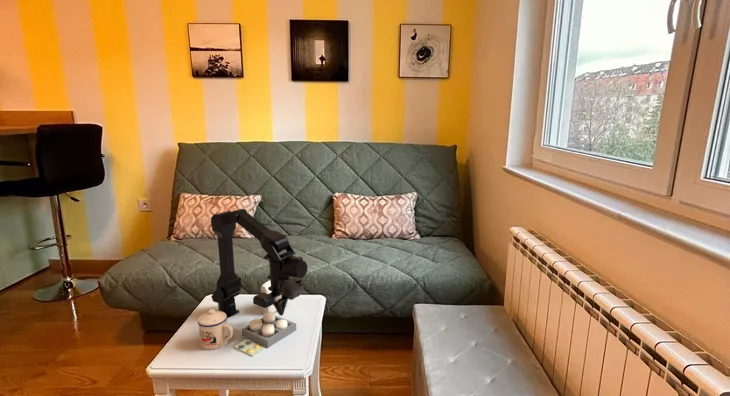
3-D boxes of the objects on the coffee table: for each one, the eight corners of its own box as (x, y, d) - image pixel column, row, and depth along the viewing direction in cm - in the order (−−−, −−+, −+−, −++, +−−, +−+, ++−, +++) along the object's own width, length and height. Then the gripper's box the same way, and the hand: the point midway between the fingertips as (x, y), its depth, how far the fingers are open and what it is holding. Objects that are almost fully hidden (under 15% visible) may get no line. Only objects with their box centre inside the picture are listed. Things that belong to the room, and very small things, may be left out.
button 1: (247, 329, 138) (247, 322, 137) (256, 324, 141) (256, 318, 140) (255, 333, 135) (255, 326, 135) (264, 328, 139) (264, 321, 138)
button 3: (261, 322, 142) (260, 315, 142) (269, 317, 146) (269, 311, 145) (269, 325, 140) (268, 318, 140) (277, 320, 143) (277, 313, 143)
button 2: (259, 335, 134) (259, 327, 134) (268, 329, 137) (268, 322, 137) (268, 338, 132) (267, 331, 131) (277, 333, 135) (276, 326, 135)
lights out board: (227, 344, 133) (226, 337, 132) (270, 319, 148) (270, 313, 148) (253, 357, 126) (253, 349, 125) (296, 329, 141) (296, 323, 140)
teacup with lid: (193, 347, 131) (190, 314, 129) (212, 333, 140) (209, 302, 137) (224, 354, 127) (221, 320, 125) (242, 339, 136) (239, 307, 133)
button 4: (273, 330, 139) (272, 323, 139) (281, 325, 143) (281, 318, 142) (281, 333, 137) (281, 326, 137) (290, 328, 140) (289, 321, 140)
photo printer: (267, 316, 151) (265, 285, 148) (260, 313, 153) (258, 282, 151) (289, 306, 158) (287, 276, 156) (281, 303, 161) (280, 274, 158)
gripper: (274, 287, 123) (277, 334, 127) (315, 268, 138) (317, 310, 142) (250, 279, 130) (253, 324, 133) (291, 262, 145) (293, 302, 148)
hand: (281, 315), depth 139 cm, fingers closed
